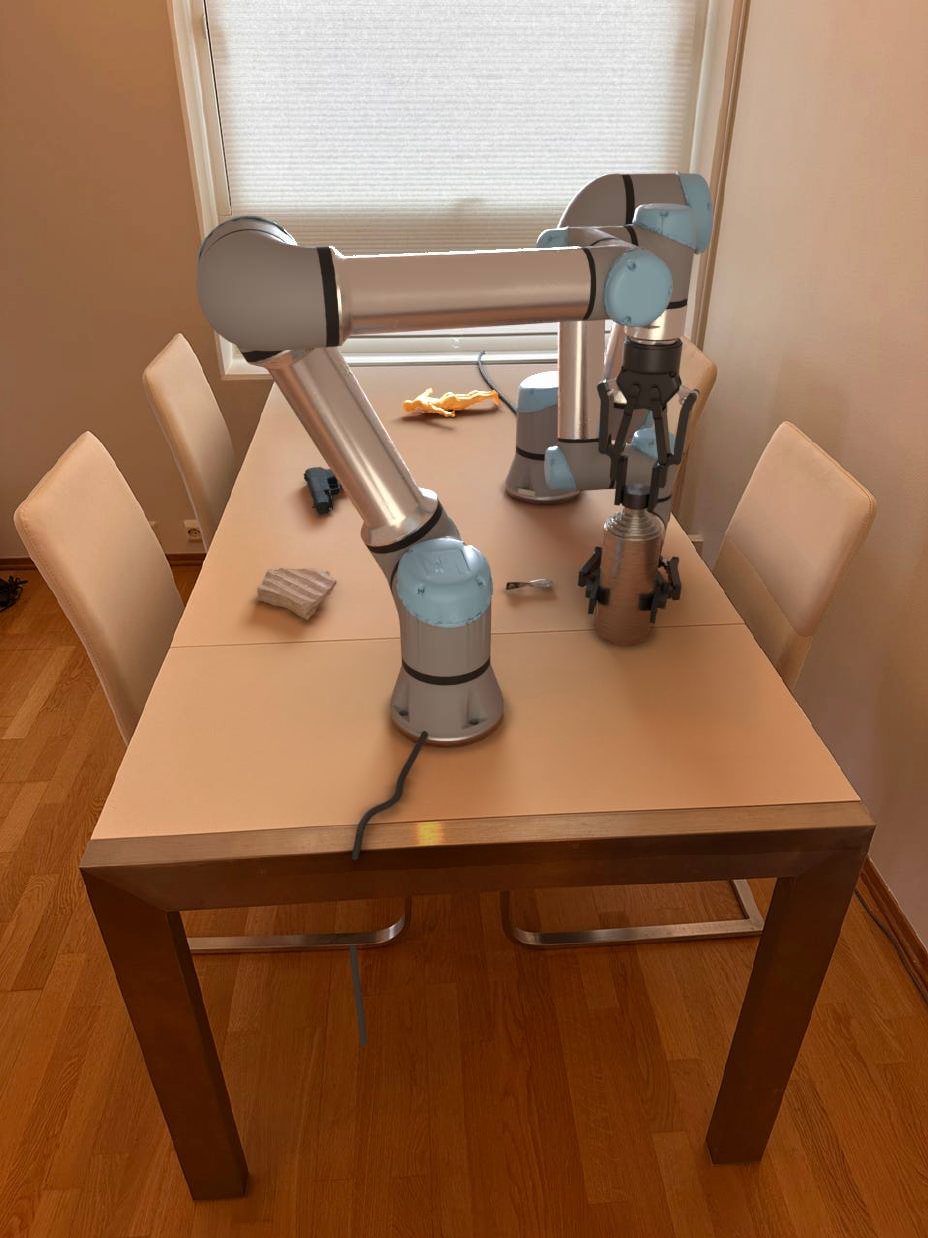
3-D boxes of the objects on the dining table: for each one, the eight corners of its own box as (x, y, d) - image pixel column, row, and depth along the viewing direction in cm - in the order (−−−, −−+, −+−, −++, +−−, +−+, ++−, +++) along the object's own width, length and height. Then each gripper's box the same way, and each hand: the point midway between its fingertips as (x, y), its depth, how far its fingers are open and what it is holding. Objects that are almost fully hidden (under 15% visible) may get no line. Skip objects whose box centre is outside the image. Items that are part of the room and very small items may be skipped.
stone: (346, 586, 150) (345, 572, 148) (309, 621, 140) (307, 607, 139) (280, 572, 154) (279, 559, 153) (240, 606, 145) (238, 592, 143)
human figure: (395, 413, 223) (394, 398, 221) (438, 390, 237) (438, 375, 235) (462, 429, 215) (462, 413, 213) (502, 404, 229) (503, 388, 227)
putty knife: (553, 587, 149) (553, 578, 148) (506, 592, 148) (507, 584, 147) (551, 584, 150) (551, 575, 149) (505, 589, 149) (505, 581, 148)
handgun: (374, 509, 176) (313, 517, 173) (359, 474, 190) (302, 481, 188) (373, 494, 174) (311, 502, 172) (358, 460, 188) (301, 466, 186)
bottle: (592, 642, 135) (604, 502, 123) (598, 614, 142) (610, 479, 130) (647, 649, 134) (665, 508, 121) (651, 620, 141) (668, 484, 128)
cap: (642, 496, 129) (643, 481, 128) (655, 507, 125) (657, 492, 124) (616, 499, 128) (617, 485, 127) (629, 511, 124) (630, 496, 123)
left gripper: (580, 337, 114) (569, 504, 127) (716, 351, 108) (691, 525, 121) (596, 324, 120) (585, 485, 132) (726, 336, 114) (701, 503, 127)
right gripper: (702, 570, 149) (692, 643, 130) (576, 554, 154) (549, 621, 135) (708, 530, 145) (699, 598, 126) (579, 514, 150) (552, 578, 131)
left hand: (635, 504), depth 127 cm, fingers closed on cap, 4 cm apart
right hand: (621, 610), depth 131 cm, fingers closed on bottle, 8 cm apart
